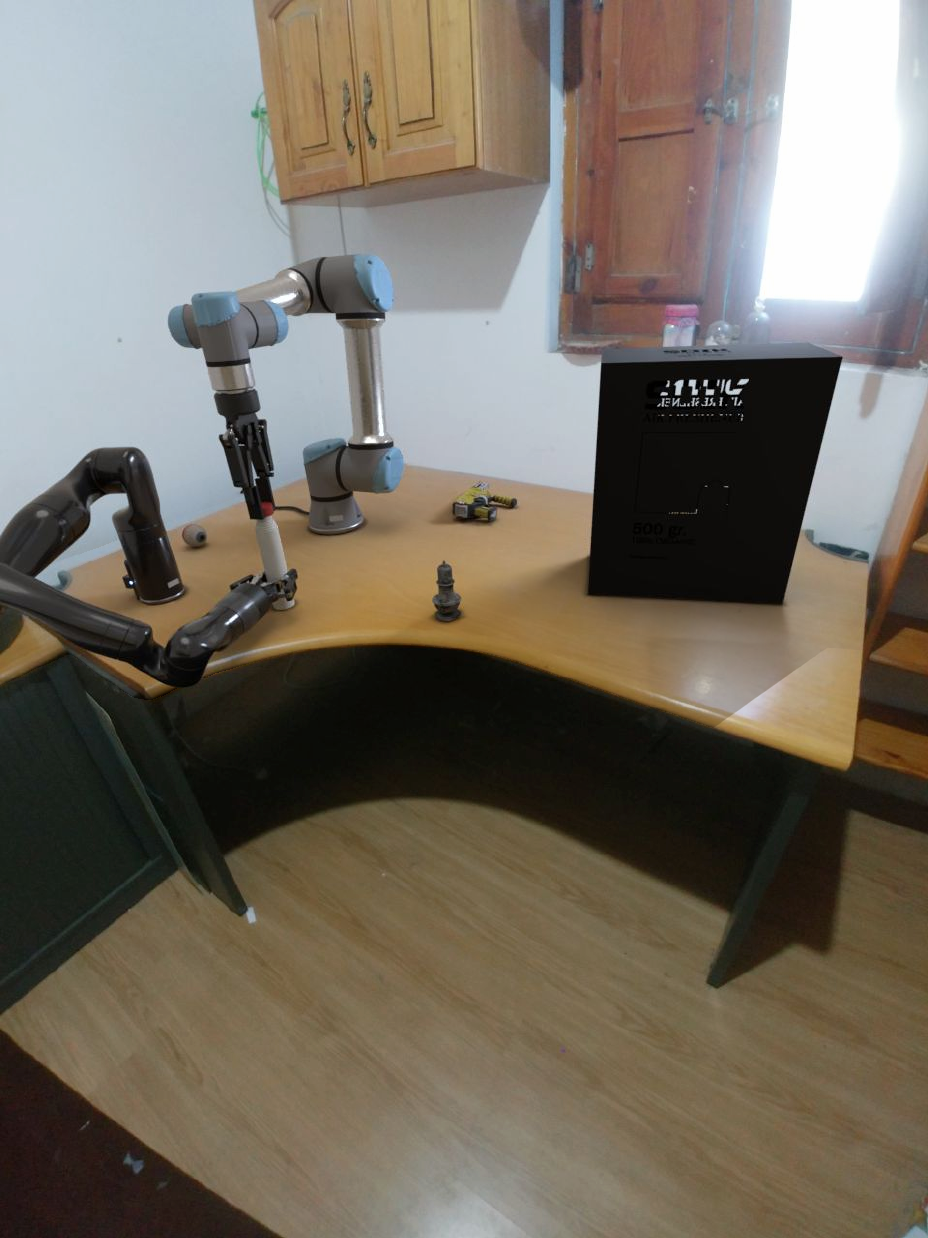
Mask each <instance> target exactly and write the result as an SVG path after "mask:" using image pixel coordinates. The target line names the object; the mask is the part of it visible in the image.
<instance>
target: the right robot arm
mask: <svg viewBox="0 0 928 1238" xmlns="http://www.w3.org/2000/svg"><path fill="white" fill-rule="evenodd" d="M394 291H395V290H394V285H393V281H392V276H391V274H390V271H389V269H388V268H387V266H386V264H385V263H384V261H383V259H381V258H380V257H379V256H377V255H376V254H371V253H369V254H368V253H355V254H345V255H334V256H333V255H332V256H319V257H315V258H314V257H313V258H311V259H308V260H305V261H302V262H300V263H297V264H296V265H292V266H290V267H287V268H285V269H281V270H279V271H278V272H277V273H276V275H275V276H274V278H271V279H268V280H266V281H262V282H259V283H256V284H253V285H250V286H247V287H244V288H241V289H238V290H234V291H232V290H227V291H226V290H225V291H213V292H212V291H209V292H197V293H194V294H193V295H192V296H191V299H190V301H191V304H189V303H184V304H180V305H176V306H173V307H172V308H171V309H170V310H169V313H168V315H167V326H168V330H169V332H170V336H171V337H172V339H173V340H174V341H175V342H176V343H177V344H178V345H179V346H180V347H183V348H187V349H189V348H190V349H195V350H200V349H202V353H203V358H204V361H205V365H206V369H207V374H208V377H209V380H210V381H209V382H210V386H211V389H212V390H213V391H215V393H214V394H213V400H214V403H215V407H216V412H217V414H218V415H220V416H222V417H224V418H225V429H226V431H225V432H224V433H223V434H222V433H220V434H219V435H218V440H219V442H220V445H221V446H222V448H223V451H224V455H225V459H226V463H227V467H228V470H229V473H230V477H231V481H232V484H233V487H234V488H241V490H240V492H239V494H243V497H244V501H245V504H246V507H247V508H246V509H247V511H248V512H247V513H248V516H249V520H255V521H256V520H263V519H265V517H264V513H263V509H262V504H261V502H270V503H272V505H273V510H274V512H275V511H277V510H280V509H281V510H286V509H287V510H295V511H298V512H299V513H301V514H304V515H308V523H307V524H308V528H309V529H308V530H310V531H311V532H312V533H314V534H317V535H323V536H324V535H325V536H327V535H329V536H331V535H339V534H340V535H341V534H345V533H350V532H353V531H355V530H357V529H359V528H361V527H362V526H363V525H364V523H365V519H364V514H363V512H362V510H361V508H360V505H359V504H358V501H357V500H356V498H355V495H354V492H357V493H358V492H359V493H371V494H375V495H379V494H390V493H392V492H394V491H395V490H396V489H397V488H398V486H399V484H400V482H401V480H402V478H403V474H404V466H405V465H404V463H405V460H404V455H403V452H402V450H401V449H400V448H398V447H396V446H395V445H394V444H395V442H394V438H393V437H392V436H391V435H390V434H389V433H388V430H387V429H388V428H387V413H386V399H385V398H386V397H385V385H384V371H383V369H384V368H383V357H382V356H383V355H382V343H381V342H382V340H381V327H382V326H383V325H384V323H385V322H386V313H387V312H389V311H390V310H391V309H392V308H393V306H394V303H393V301H395V300H394V298H395V296H394V295H395V294H394ZM307 314H335V322H336V324H338V325H339V326H340V327H341V329H342V330H343V340H344V341H343V342H344V351H345V363H346V373H347V382H348V383H347V384H348V396H349V407H350V416H351V417H350V418H351V426H352V427H351V428H352V434H351V436H350V437H349V438H348V440H347V441H346V439H345V438H342V437H334V438H328V439H323V440H320V441H319V440H318V441H316V442H313V443H309V444H308V445H306V446H305V447H304V448H303V450H302V457H303V458H302V460H303V467H304V471H305V477H306V481H307V486H308V492H309V498H310V507H309V511H307V510H303V509H301V508H300V507H298V506H291V505H279V506H278V505H277V506H276V504H275V499H274V495H273V490H272V484H271V480H270V478H274V477H275V472H274V470H275V467H274V465H275V464H274V461H273V455H272V451H271V450H272V449H271V445H270V440H269V434H268V422H267V420H266V418H258V415H257V414H256V413H258V412H260V411H261V409H262V408H261V402H260V398H259V393H258V390H257V389H256V388H255V387H256V385H257V383H256V378H255V373H254V370H253V365H252V361H251V356H250V350H252V349H258V348H265V347H273V346H275V345H277V344H280V343H282V342H283V341H285V339H286V338H287V336H288V335H289V329H290V327H289V326H290V325H289V320H288V316H291V317H301V316H304V315H307ZM253 470H254V471H253ZM254 472H255V475H256V478H254Z"/></svg>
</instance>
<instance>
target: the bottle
mask: <svg viewBox="0 0 928 1238" xmlns="http://www.w3.org/2000/svg"><path fill="white" fill-rule="evenodd" d="M272 516H273V515H271V516H268V517H265V519H263V520H255V525H254V532H255V535H256V540H257V544H258V548H259V552H260V557H261V560H262V566H263V569H264V571H265V574H266V578H267V582H269V581H271V580H273V579H275V578H278V579H279V578H281V577H283V576H284V575H285V574H286V573H287V572H288V571H289V570H288V566H287V562H286V557H285V554H284V548H283V544H282V540H281V534H280V530H279V526H278V524H277V522H276V520H275V519H274V518H273V517H272ZM282 586H284V582H283V583H282ZM295 604H296V603H295V598H293V600H292V601H286V598H279V599H278V600H277V601H275V602H273V603H272V607H273V609H275V610H277V611H285V610H289V609H291V608H292V607H294V606H295Z"/></svg>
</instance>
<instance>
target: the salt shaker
mask: <svg viewBox="0 0 928 1238" xmlns="http://www.w3.org/2000/svg"><path fill="white" fill-rule="evenodd" d="M436 573H437V574H436V575H437V579H436V582H435V583H436V585H437V587H438V588H437V589H438V590H437V591H438V593H437V594H435V595H434V596H433V597H432V598H431V601H432V604H433V605H434V606H433V607H434V608H435V609H436V611H435V613H434V617H435V618H436V620H439V621H443V622H449V621H451V622H452V621H455V620H458V618H460V617H461V615H462V612H461V610H460V609H459V607H460V604H461V601H462V596H461V595H460V594H459V593H458V592H455V589H454V584H455V579H454V578H453V567H452V565H450V564H449V563H447V562H446V560H443V561H442V562H441V564H439V565H438V566H437V568H436Z"/></svg>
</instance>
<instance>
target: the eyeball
mask: <svg viewBox="0 0 928 1238" xmlns="http://www.w3.org/2000/svg"><path fill="white" fill-rule="evenodd" d="M181 537H182V540H183V541H184V543H185V544H186V545H188V546H190V547H193V548H198V547H201V546H203V545H204V544H205V543H206V541H207V539H208V533H207V531H206V529H205V528H204V527H203V526H202V525H200V524H198V523H190V524H188V525H186V526H185V527H184V528H183V529H182V533H181Z"/></svg>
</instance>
